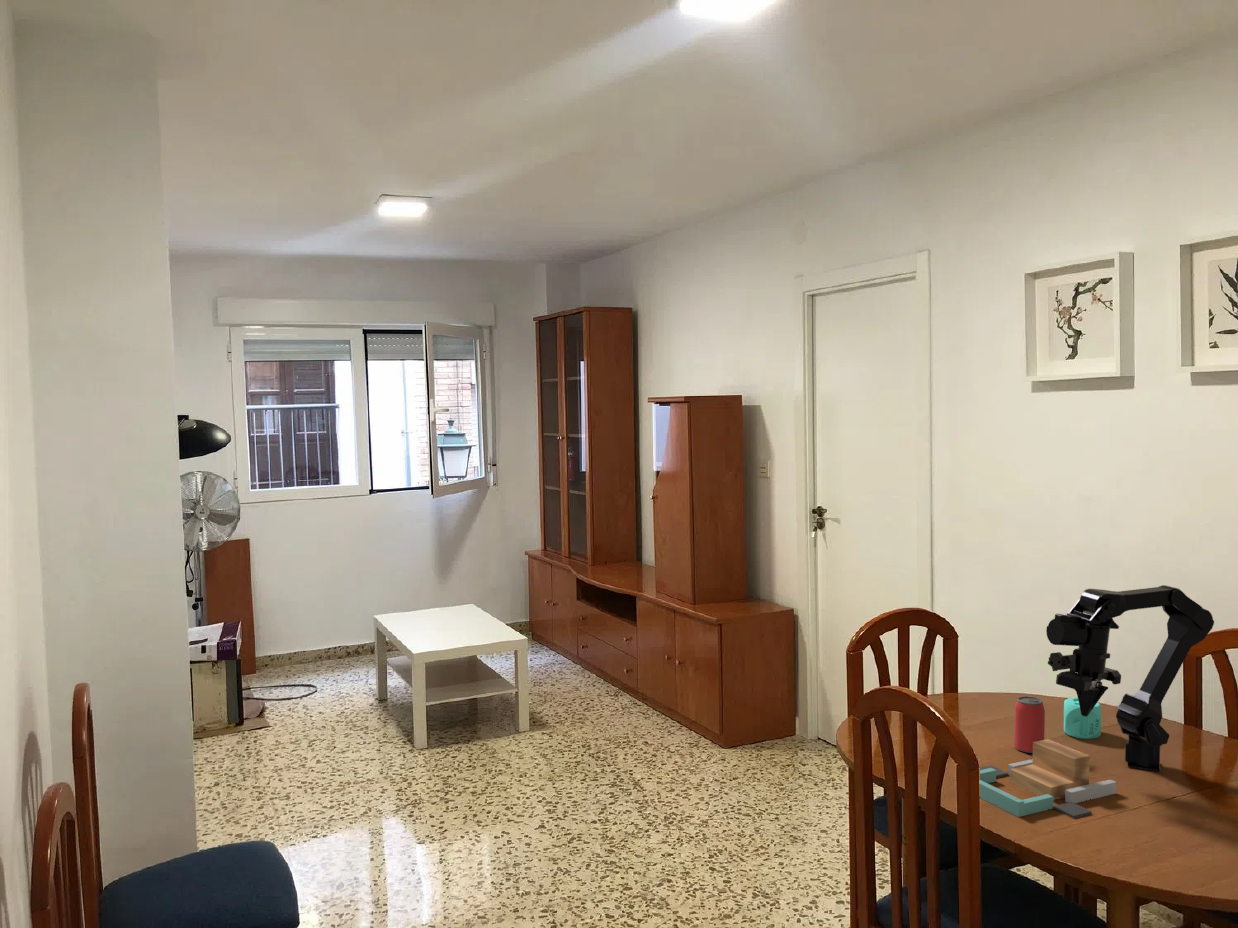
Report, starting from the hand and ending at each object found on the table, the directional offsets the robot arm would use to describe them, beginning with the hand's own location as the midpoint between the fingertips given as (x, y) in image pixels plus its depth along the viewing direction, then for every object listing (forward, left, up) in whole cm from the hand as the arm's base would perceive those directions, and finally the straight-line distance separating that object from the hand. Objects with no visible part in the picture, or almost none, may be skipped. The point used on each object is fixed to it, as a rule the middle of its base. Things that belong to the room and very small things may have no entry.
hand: (1084, 715), depth 216 cm
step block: (+6, +12, -13) cm, 19 cm away
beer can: (+12, -10, -13) cm, 20 cm away
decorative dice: (+1, -27, -13) cm, 30 cm away
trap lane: (+9, +15, -13) cm, 22 cm away
